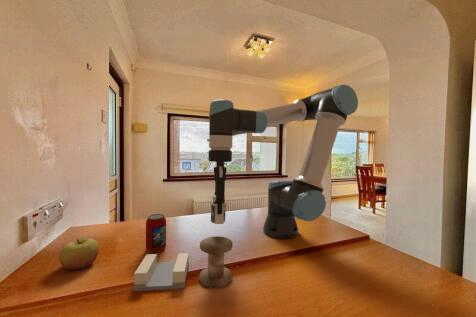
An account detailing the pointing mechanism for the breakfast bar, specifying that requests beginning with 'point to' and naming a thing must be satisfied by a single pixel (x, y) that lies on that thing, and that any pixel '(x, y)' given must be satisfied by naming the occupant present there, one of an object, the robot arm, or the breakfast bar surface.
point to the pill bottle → (214, 209)
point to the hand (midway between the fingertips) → (218, 220)
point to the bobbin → (215, 262)
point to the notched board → (161, 273)
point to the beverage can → (155, 233)
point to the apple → (79, 253)
